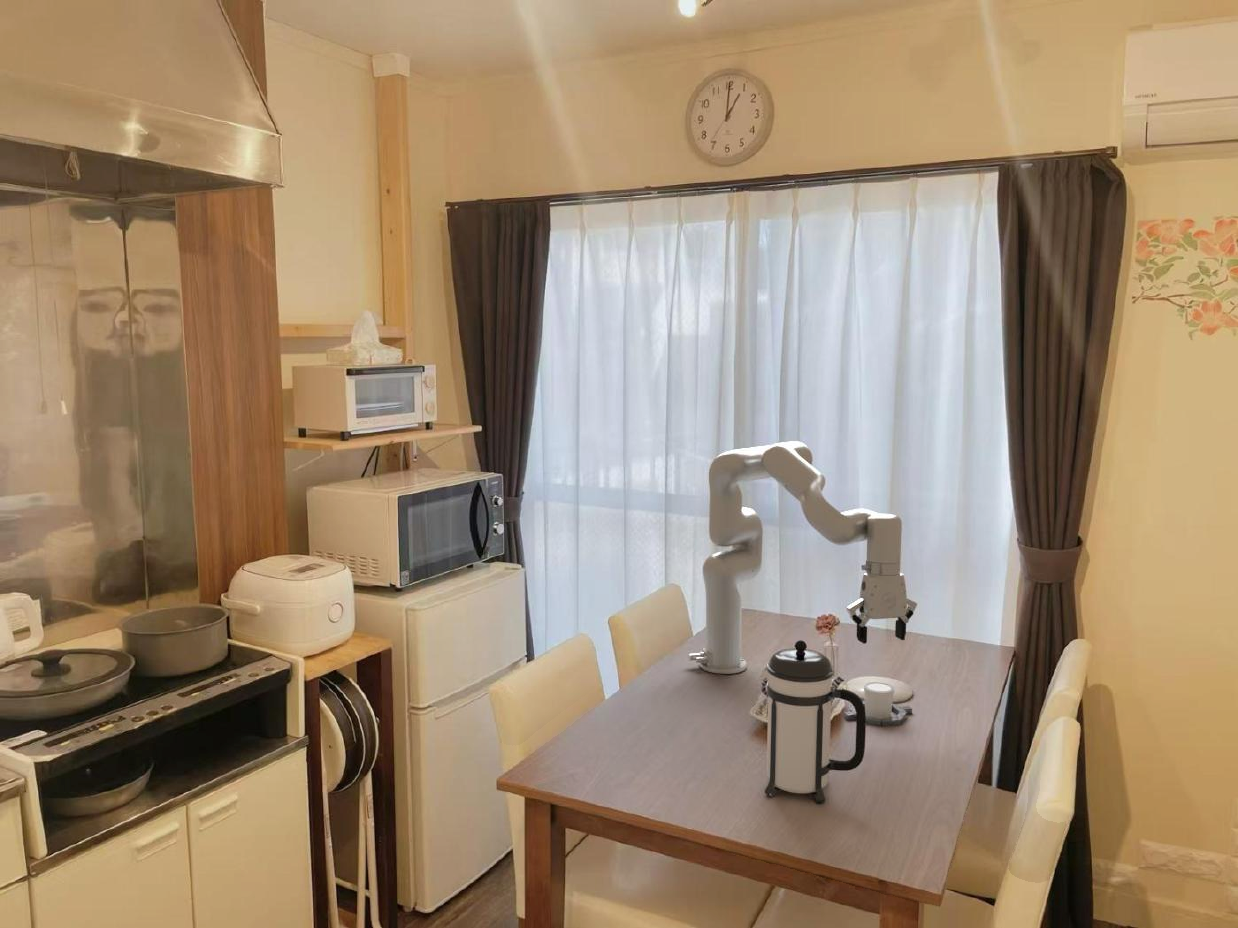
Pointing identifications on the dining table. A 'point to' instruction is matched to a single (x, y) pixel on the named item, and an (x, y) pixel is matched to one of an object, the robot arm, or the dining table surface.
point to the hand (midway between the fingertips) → (881, 640)
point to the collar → (896, 720)
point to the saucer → (900, 688)
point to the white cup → (878, 699)
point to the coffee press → (804, 722)
